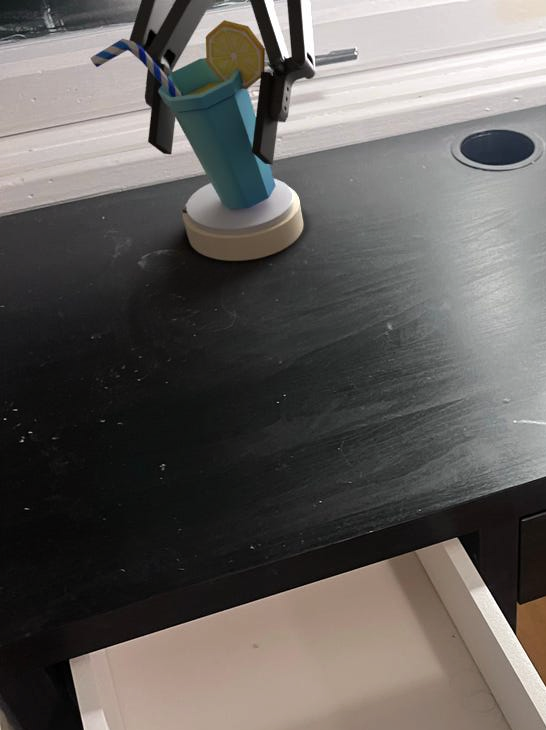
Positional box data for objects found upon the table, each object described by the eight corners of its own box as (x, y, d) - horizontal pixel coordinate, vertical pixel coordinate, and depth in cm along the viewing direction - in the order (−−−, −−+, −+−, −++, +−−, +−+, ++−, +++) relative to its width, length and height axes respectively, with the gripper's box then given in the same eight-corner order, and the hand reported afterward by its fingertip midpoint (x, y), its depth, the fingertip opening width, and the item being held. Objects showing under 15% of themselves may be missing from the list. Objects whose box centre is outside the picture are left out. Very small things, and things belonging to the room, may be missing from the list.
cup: (168, 239, 90) (83, 68, 79) (169, 198, 95) (89, 32, 84) (313, 194, 90) (250, 16, 78) (307, 156, 95) (246, -18, 83)
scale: (169, 255, 93) (160, 224, 91) (217, 197, 99) (209, 167, 97) (278, 268, 91) (272, 237, 89) (319, 208, 98) (315, 178, 95)
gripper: (378, -92, 85) (342, 180, 88) (148, -103, 89) (121, 158, 92) (349, -151, 78) (311, 147, 81) (101, -161, 82) (73, 125, 85)
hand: (210, 153), depth 86 cm, fingers closed on cup, 9 cm apart
